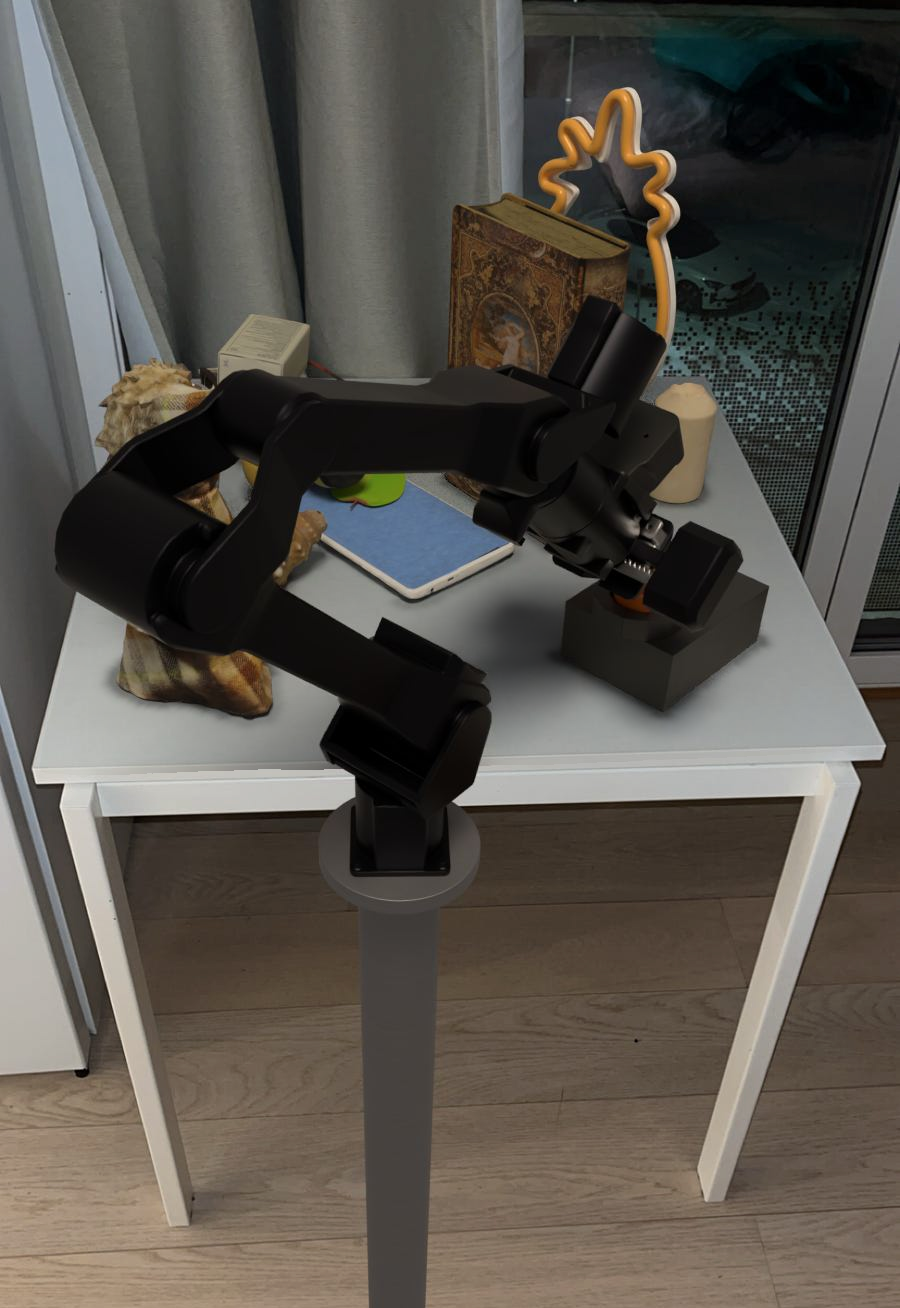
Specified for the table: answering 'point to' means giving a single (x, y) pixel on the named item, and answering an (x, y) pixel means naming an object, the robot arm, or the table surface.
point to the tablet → (407, 539)
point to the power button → (632, 602)
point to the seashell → (302, 542)
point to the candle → (688, 441)
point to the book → (523, 286)
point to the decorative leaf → (373, 489)
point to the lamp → (597, 143)
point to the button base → (658, 641)
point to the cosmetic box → (266, 347)
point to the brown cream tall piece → (148, 404)
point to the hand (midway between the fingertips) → (644, 576)
